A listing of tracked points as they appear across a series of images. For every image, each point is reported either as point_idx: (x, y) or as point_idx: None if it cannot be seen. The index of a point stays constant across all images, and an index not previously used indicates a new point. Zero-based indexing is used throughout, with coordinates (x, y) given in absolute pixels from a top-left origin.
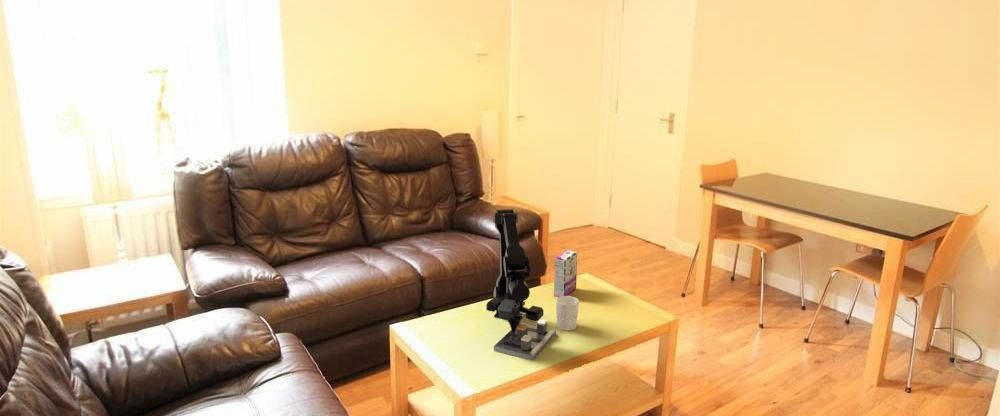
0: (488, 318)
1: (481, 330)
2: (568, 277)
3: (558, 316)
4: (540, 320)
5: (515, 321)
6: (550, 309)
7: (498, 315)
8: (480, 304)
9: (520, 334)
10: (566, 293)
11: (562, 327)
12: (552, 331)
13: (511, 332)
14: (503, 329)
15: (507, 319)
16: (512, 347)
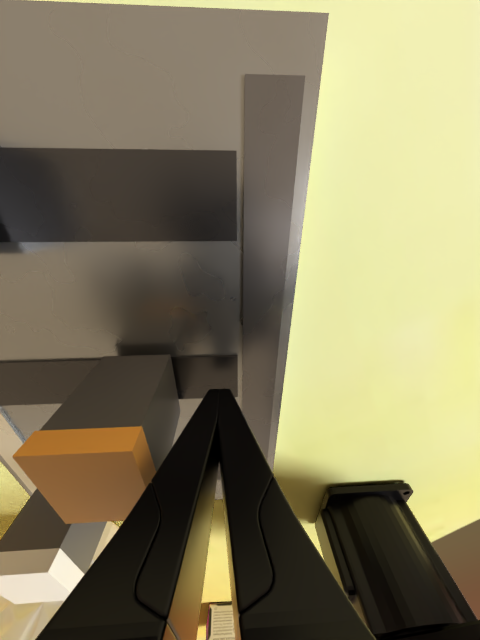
0: (432, 464)
1: (466, 360)
2: None
3: (53, 612)
4: (54, 592)
5: (125, 598)
6: (213, 569)
7: (391, 496)
8: (475, 518)
9: (121, 380)
10: (207, 627)
11: None
12: None
13: (259, 400)
14: (331, 420)
15: (340, 587)
16: (85, 134)
